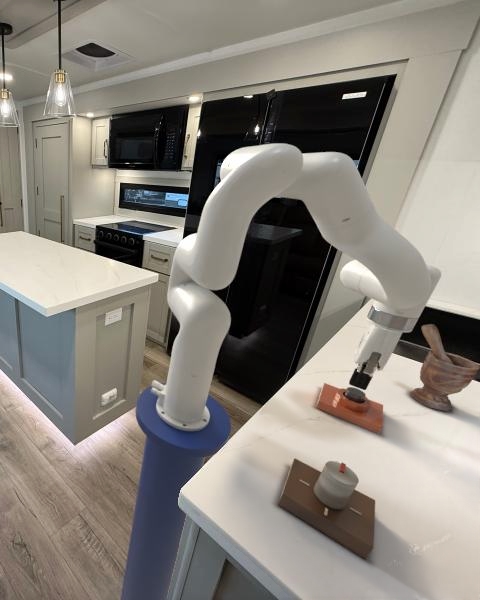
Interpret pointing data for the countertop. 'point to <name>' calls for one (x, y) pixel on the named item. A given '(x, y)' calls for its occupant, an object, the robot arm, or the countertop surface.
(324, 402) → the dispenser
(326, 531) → the lock panel
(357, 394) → the dark grey push button
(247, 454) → the countertop surface
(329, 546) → the countertop surface
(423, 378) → the mortar and pestle
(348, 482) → the lock knob
